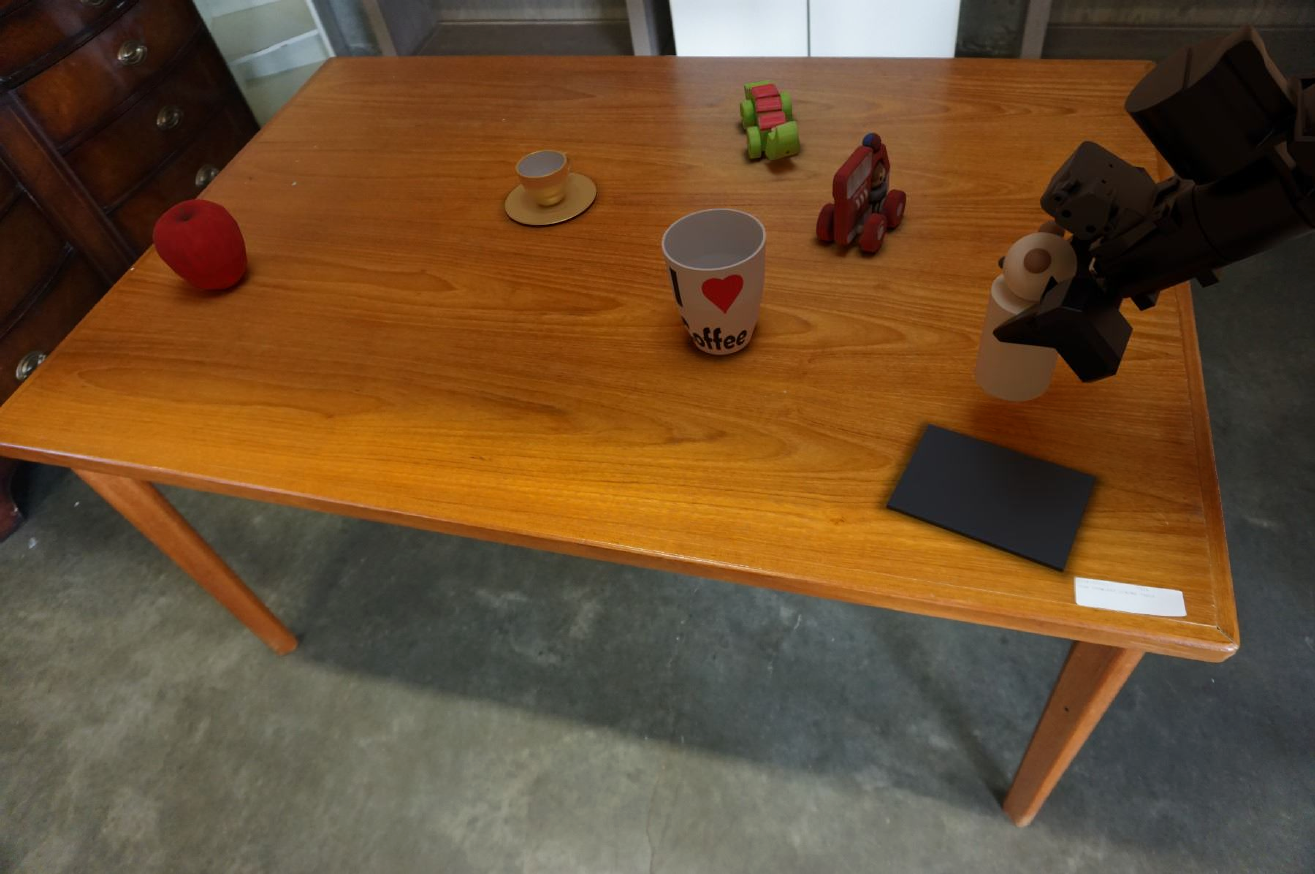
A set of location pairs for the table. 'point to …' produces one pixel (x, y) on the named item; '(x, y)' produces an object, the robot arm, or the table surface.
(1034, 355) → the bear
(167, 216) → the apple
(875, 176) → the toy fire truck
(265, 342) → the table surface
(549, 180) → the cup
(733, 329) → the cup
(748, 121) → the toy crocodile
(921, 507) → the mat
